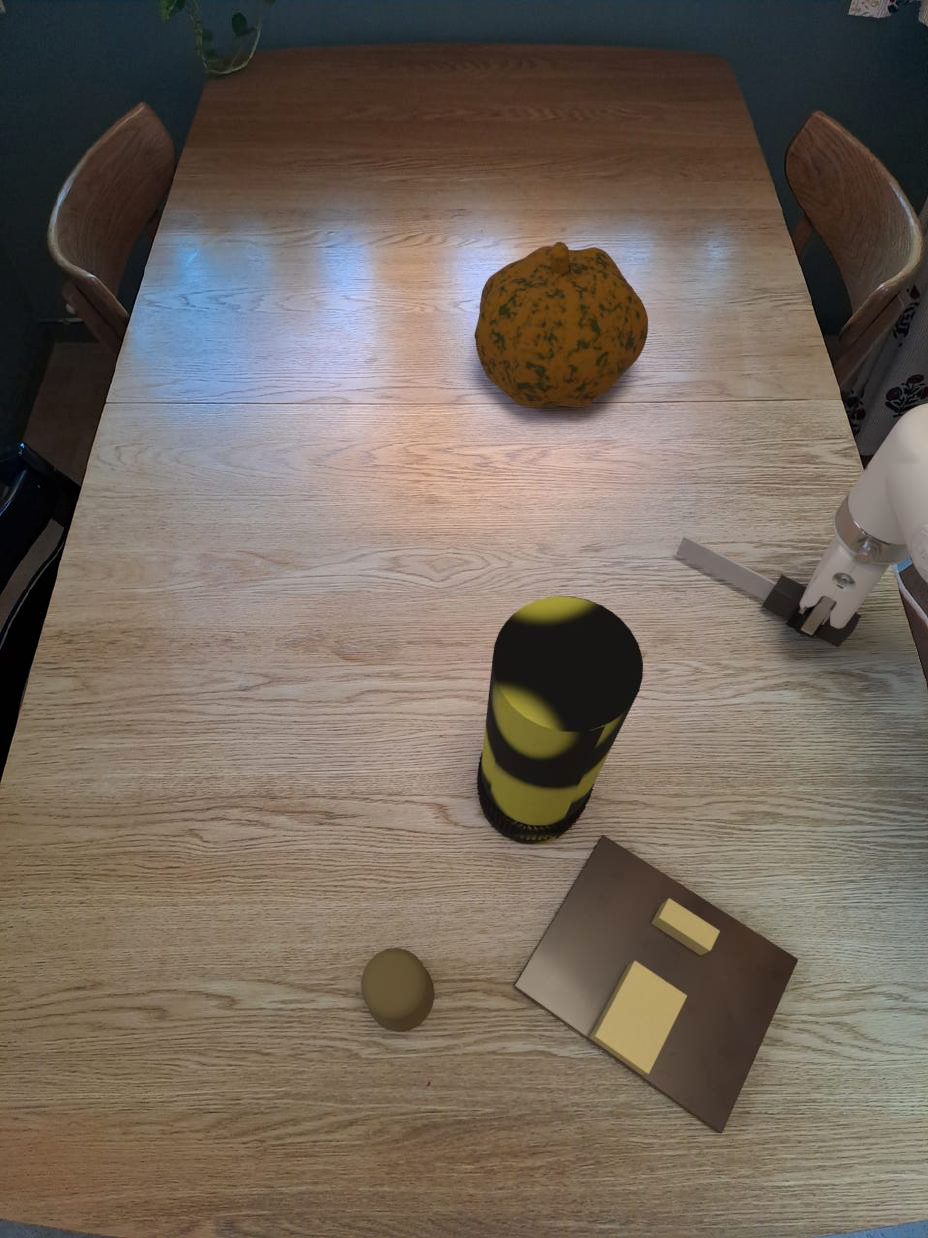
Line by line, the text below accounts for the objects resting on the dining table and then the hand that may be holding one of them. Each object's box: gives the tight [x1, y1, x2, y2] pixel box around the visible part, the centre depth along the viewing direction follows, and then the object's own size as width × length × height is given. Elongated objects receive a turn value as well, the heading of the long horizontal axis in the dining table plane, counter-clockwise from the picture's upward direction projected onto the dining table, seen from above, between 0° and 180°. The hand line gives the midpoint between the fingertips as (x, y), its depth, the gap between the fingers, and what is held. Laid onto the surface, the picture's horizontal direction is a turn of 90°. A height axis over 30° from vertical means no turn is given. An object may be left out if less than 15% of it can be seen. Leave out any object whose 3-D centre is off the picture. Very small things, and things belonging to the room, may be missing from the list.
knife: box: [675, 534, 862, 648], centre depth 92 cm, size 20×2×4 cm, turn 56°
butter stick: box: [590, 961, 687, 1074], centre depth 71 cm, size 5×7×3 cm
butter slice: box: [652, 898, 720, 955], centre depth 74 cm, size 5×2×3 cm, turn 56°
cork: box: [360, 947, 435, 1033], centre depth 69 cm, size 6×6×11 cm
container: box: [476, 595, 644, 845], centre depth 70 cm, size 11×11×30 cm
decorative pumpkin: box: [473, 241, 649, 408], centre depth 102 cm, size 20×21×20 cm
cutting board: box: [513, 834, 799, 1134], centre depth 75 cm, size 20×16×2 cm
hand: (805, 619), depth 92 cm, fingers closed on knife, 2 cm apart
